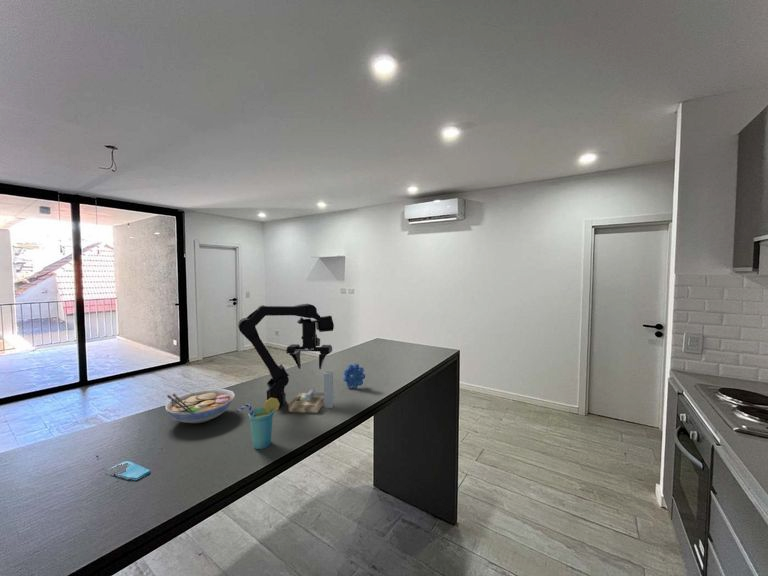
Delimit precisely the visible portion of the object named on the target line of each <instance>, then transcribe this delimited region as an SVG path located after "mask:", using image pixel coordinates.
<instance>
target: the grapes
mask: <svg viewBox="0 0 768 576" xmlns="http://www.w3.org/2000/svg"><path fill="white" fill-rule="evenodd" d="M364 371H365V370H364V367H363V366H360V365H359V364H358V363H354V364H349V365H348V366H347V369H345V370H344V371H343V375H344V377H343V378H342V380H343V382H344V383H346V388H347V387H348V388H352V389H354V390H355V389H357V388H358V387H361V386H362V385H363V384H364V379H366V374H365V373H364Z"/></svg>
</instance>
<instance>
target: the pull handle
mask: <svg viewBox="0 0 768 576" xmlns="http://www.w3.org/2000/svg"><path fill="white" fill-rule="evenodd" d="M306 393H307V394H306V401H310V400H311V399H312V398H313V397H314V396H324V404H323V407H324V408H327V409H329V408H333V406H334V404H335V403H334V402H335V401H334V398H335V397H334V371H325V372H324V373H323V391H322V392H319V391H316V392H315V388H311V389H309V390H308V392H306Z"/></svg>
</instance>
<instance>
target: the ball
mask: <svg viewBox="0 0 768 576" xmlns="http://www.w3.org/2000/svg"><path fill="white" fill-rule="evenodd" d="M300 401H306V395H303V396H301V398H300Z"/></svg>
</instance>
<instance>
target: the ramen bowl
mask: <svg viewBox="0 0 768 576" xmlns="http://www.w3.org/2000/svg"><path fill="white" fill-rule="evenodd" d="M235 396H236V394H235V392H234V391H233V390H229V389H223V388H212V389H210V388H209V389H203V390H197V391H193V392H188V393H185V394H183V395H179V396H178V395H176V393H172V396H171V395H170V394H167V395H166V397H167V398H168V399H170V401H168V402H167V403H166V404H165V405H164V406H165V411H166V412H167V414H168V415H169V416H170V417H171V418H173V419H175V420H176V421H179V422H181V423H189V424H202V423H206V422H209V421H211V420H212V419H215V418H218V417H219V416H220V415H222V414H223V413H224V412H226V411H227V409H228V408H229V407H230V406H231V404H232V402H233V400H234V398H235Z"/></svg>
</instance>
